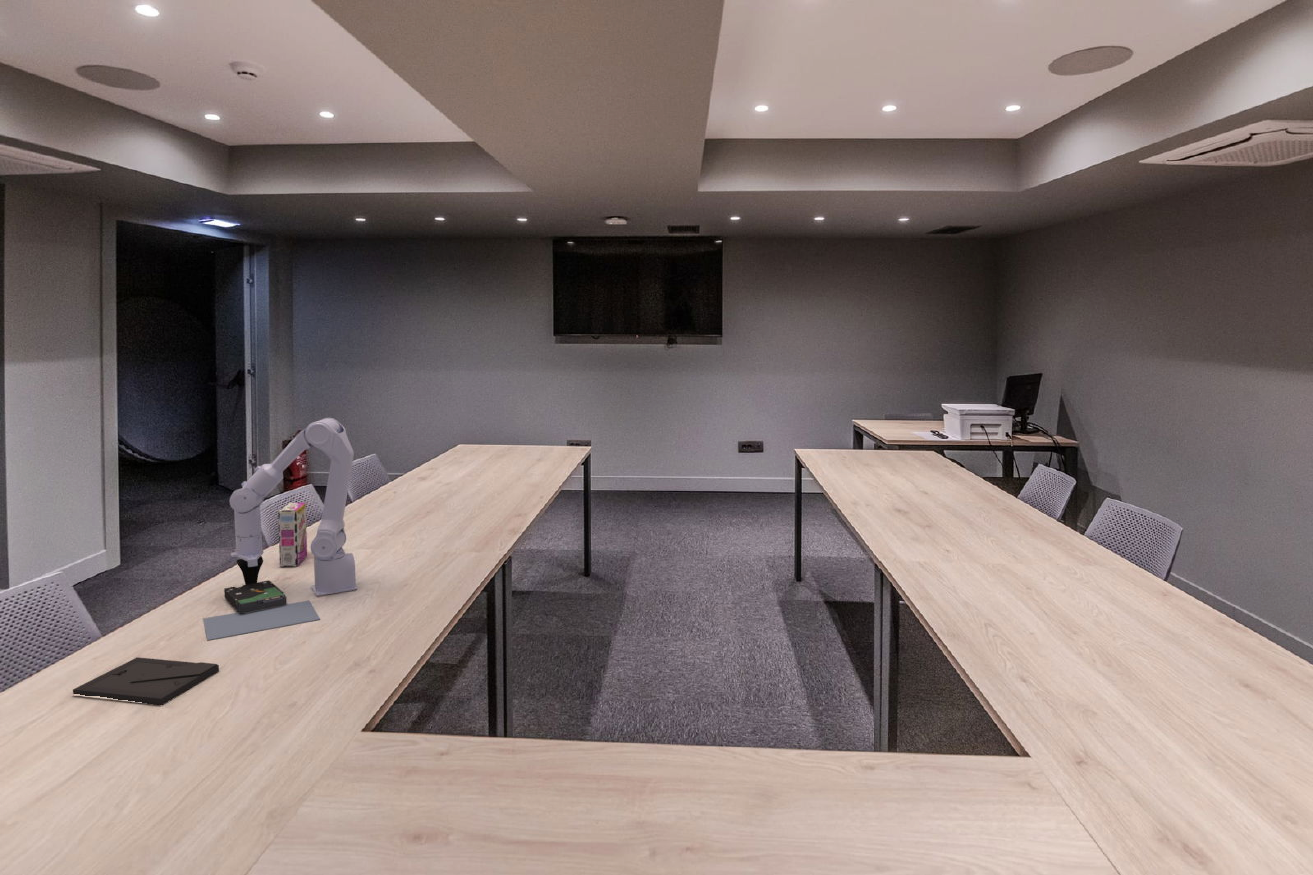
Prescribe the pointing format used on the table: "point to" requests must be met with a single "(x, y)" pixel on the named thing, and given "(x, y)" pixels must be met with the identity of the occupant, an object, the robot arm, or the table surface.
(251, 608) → the disk drive
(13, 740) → the table surface
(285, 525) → the candy bar box
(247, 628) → the mat
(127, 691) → the picture frame
